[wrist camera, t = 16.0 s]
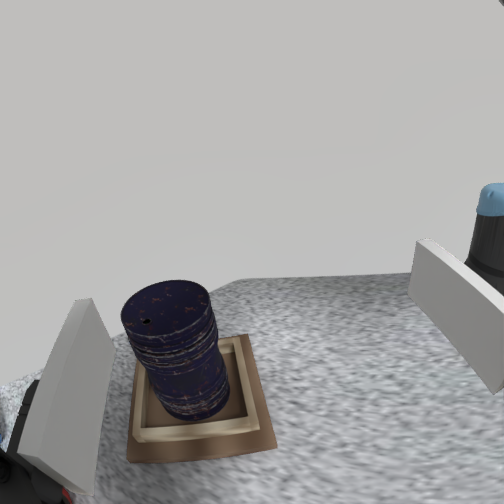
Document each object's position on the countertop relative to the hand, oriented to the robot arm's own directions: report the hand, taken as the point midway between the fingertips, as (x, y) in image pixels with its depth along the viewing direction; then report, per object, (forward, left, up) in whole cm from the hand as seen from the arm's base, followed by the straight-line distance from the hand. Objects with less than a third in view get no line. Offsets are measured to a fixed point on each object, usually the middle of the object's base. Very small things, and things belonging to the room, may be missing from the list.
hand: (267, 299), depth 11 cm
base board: (+8, -16, -27) cm, 33 cm away
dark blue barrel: (+8, -16, -26) cm, 32 cm away
